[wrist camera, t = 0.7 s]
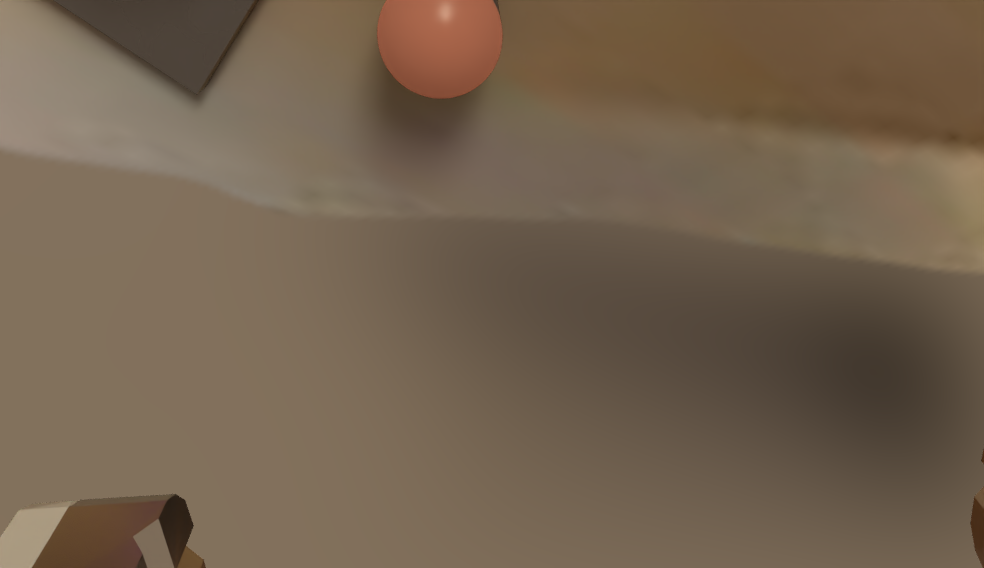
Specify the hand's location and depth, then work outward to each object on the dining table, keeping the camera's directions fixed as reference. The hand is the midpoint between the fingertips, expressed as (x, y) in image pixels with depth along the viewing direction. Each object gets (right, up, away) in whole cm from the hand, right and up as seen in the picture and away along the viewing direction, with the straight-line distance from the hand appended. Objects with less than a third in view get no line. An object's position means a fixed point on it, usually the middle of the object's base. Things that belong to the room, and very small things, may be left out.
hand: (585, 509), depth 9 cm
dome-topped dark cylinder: (-3, +15, +32) cm, 36 cm away
